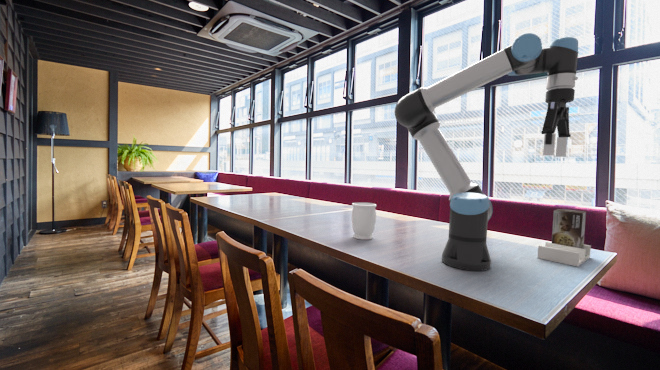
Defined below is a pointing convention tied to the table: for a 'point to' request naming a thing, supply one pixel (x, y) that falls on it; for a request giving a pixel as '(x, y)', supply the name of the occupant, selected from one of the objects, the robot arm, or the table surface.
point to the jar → (363, 220)
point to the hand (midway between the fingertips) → (554, 156)
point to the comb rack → (564, 253)
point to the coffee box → (569, 227)
